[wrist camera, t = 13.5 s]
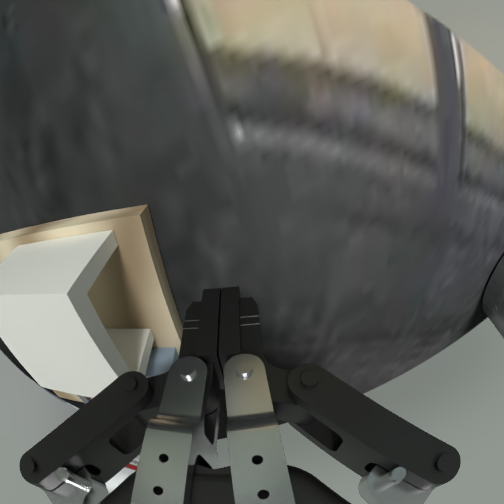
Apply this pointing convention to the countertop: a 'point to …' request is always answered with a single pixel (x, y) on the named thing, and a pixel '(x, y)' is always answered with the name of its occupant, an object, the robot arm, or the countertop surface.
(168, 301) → the base board
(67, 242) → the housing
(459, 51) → the countertop surface
